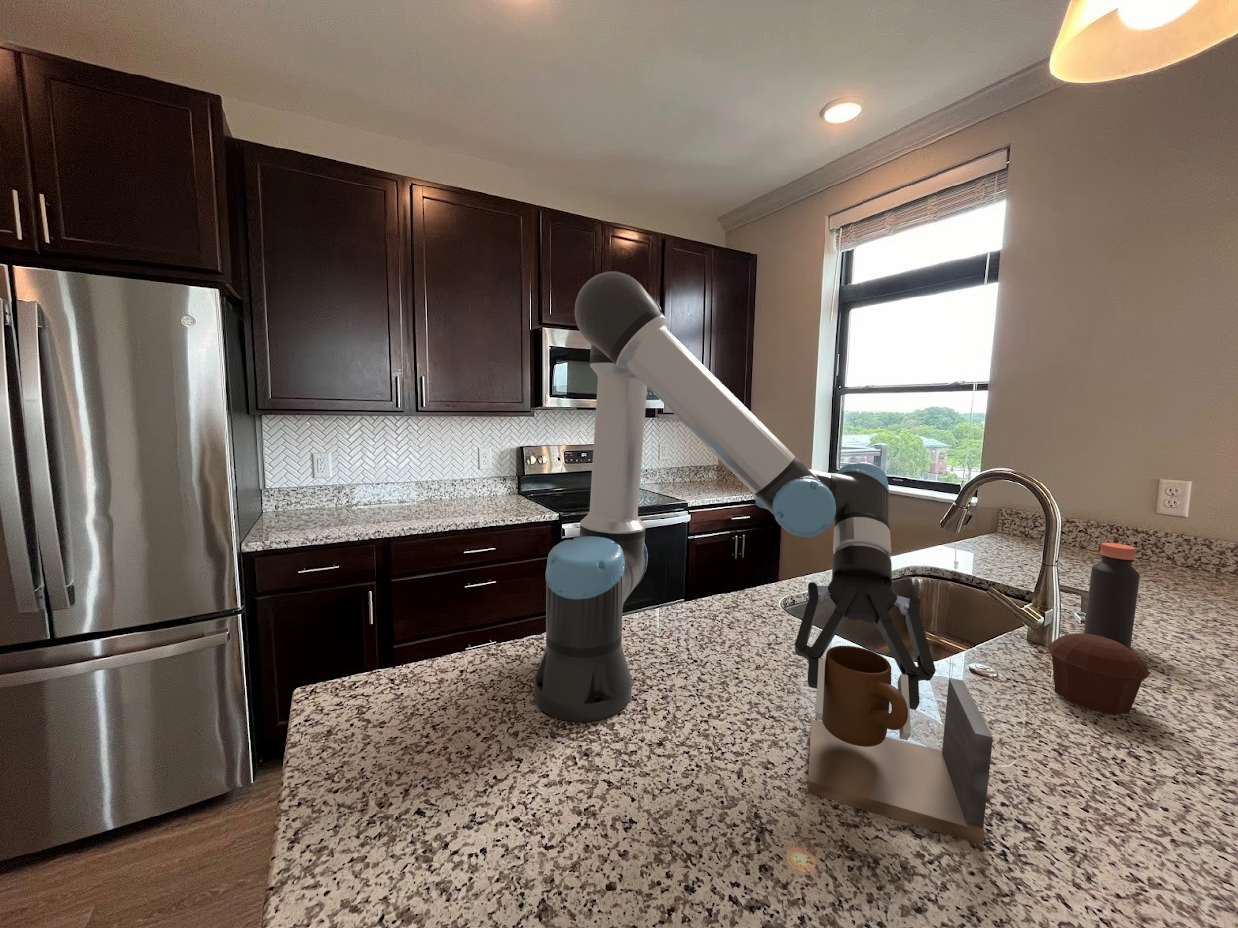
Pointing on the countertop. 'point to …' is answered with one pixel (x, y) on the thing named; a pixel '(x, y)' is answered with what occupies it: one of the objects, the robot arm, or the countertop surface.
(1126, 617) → the bottle
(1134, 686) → the muffin
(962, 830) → the shelf
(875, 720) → the mug
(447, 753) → the countertop surface
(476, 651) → the countertop surface
